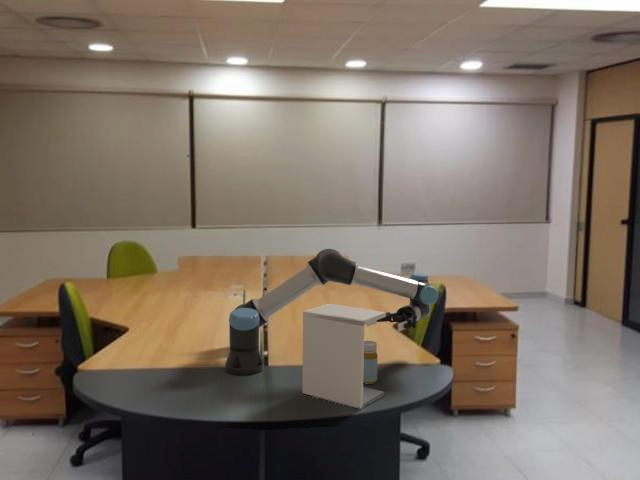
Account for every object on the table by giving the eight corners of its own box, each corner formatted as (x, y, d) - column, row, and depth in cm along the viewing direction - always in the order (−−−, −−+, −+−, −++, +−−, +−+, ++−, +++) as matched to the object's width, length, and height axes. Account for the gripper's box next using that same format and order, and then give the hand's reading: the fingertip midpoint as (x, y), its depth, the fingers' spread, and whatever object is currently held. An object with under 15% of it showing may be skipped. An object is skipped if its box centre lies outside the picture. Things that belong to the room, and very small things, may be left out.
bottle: (358, 378, 234) (358, 340, 232) (376, 379, 234) (377, 340, 232) (358, 385, 227) (359, 345, 225) (377, 385, 227) (378, 345, 225)
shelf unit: (360, 410, 203) (362, 321, 200) (302, 394, 217) (302, 311, 213) (384, 395, 216) (386, 312, 213) (327, 382, 230) (328, 303, 227)
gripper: (435, 328, 247) (412, 340, 230) (381, 319, 261) (355, 330, 244) (436, 309, 246) (412, 320, 229) (381, 302, 260) (355, 311, 243)
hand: (382, 325), depth 236 cm, fingers open, 13 cm apart
